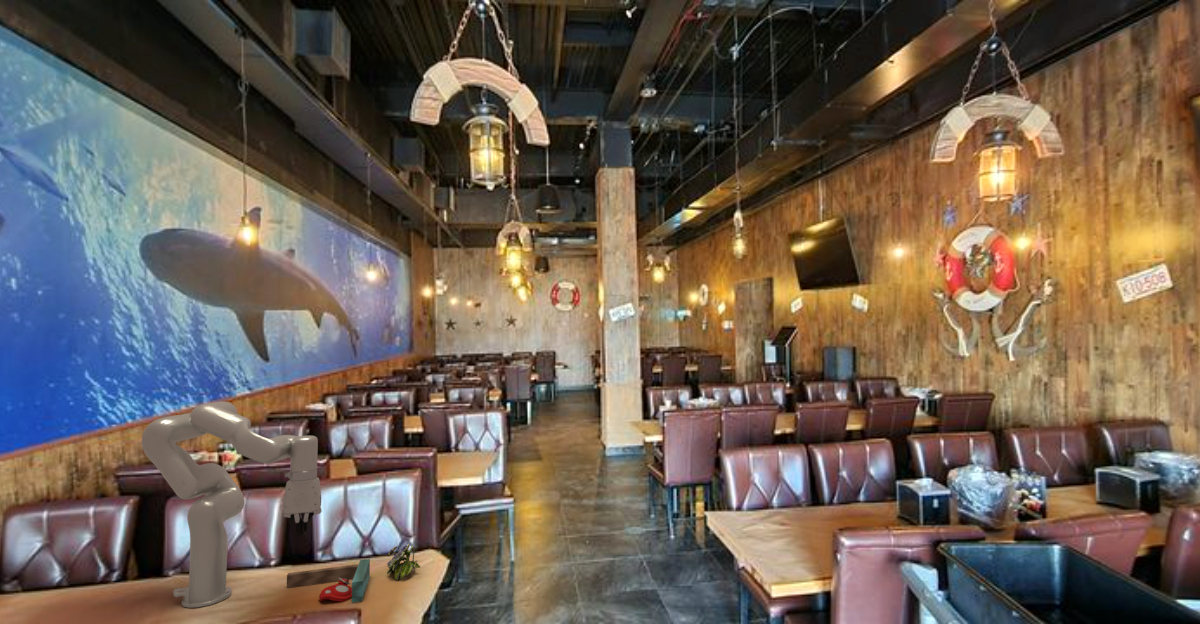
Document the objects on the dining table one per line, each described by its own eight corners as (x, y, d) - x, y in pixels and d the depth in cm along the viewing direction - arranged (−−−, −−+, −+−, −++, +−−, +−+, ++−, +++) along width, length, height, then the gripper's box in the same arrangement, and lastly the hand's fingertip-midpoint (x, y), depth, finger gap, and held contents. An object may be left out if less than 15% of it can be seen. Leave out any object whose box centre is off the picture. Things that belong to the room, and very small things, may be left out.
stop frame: (269, 615, 155) (269, 593, 156) (288, 585, 175) (288, 566, 176) (362, 601, 163) (362, 581, 163) (370, 574, 183) (370, 556, 183)
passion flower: (392, 589, 183) (392, 553, 190) (425, 581, 185) (423, 545, 192) (382, 582, 174) (382, 545, 181) (416, 573, 176) (414, 536, 183)
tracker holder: (359, 594, 166) (325, 596, 159) (354, 608, 165) (320, 610, 159) (350, 573, 175) (318, 574, 169) (346, 586, 175) (313, 588, 169)
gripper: (273, 479, 165) (271, 541, 163) (327, 476, 169) (325, 535, 168) (280, 474, 172) (278, 533, 170) (331, 471, 176) (330, 528, 175)
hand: (302, 534), depth 169 cm, fingers closed
